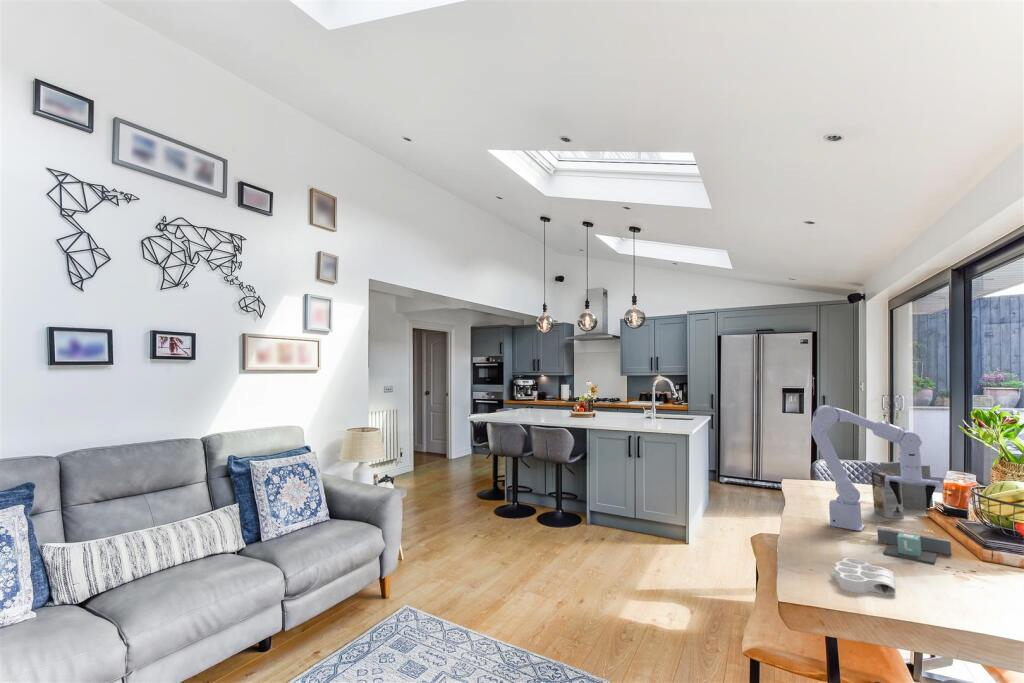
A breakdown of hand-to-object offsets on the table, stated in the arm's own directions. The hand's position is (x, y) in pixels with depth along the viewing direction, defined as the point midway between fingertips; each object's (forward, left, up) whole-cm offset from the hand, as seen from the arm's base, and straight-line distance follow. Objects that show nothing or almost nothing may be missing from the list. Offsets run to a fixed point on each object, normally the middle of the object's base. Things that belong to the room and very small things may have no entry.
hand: (913, 505), depth 168 cm
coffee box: (-10, +19, -10) cm, 24 cm away
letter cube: (+1, -25, -9) cm, 27 cm away
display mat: (+1, -26, -9) cm, 27 cm away
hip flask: (-6, +36, -10) cm, 38 cm away
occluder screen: (+1, -17, -9) cm, 19 cm away
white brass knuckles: (-6, -56, -10) cm, 58 cm away
